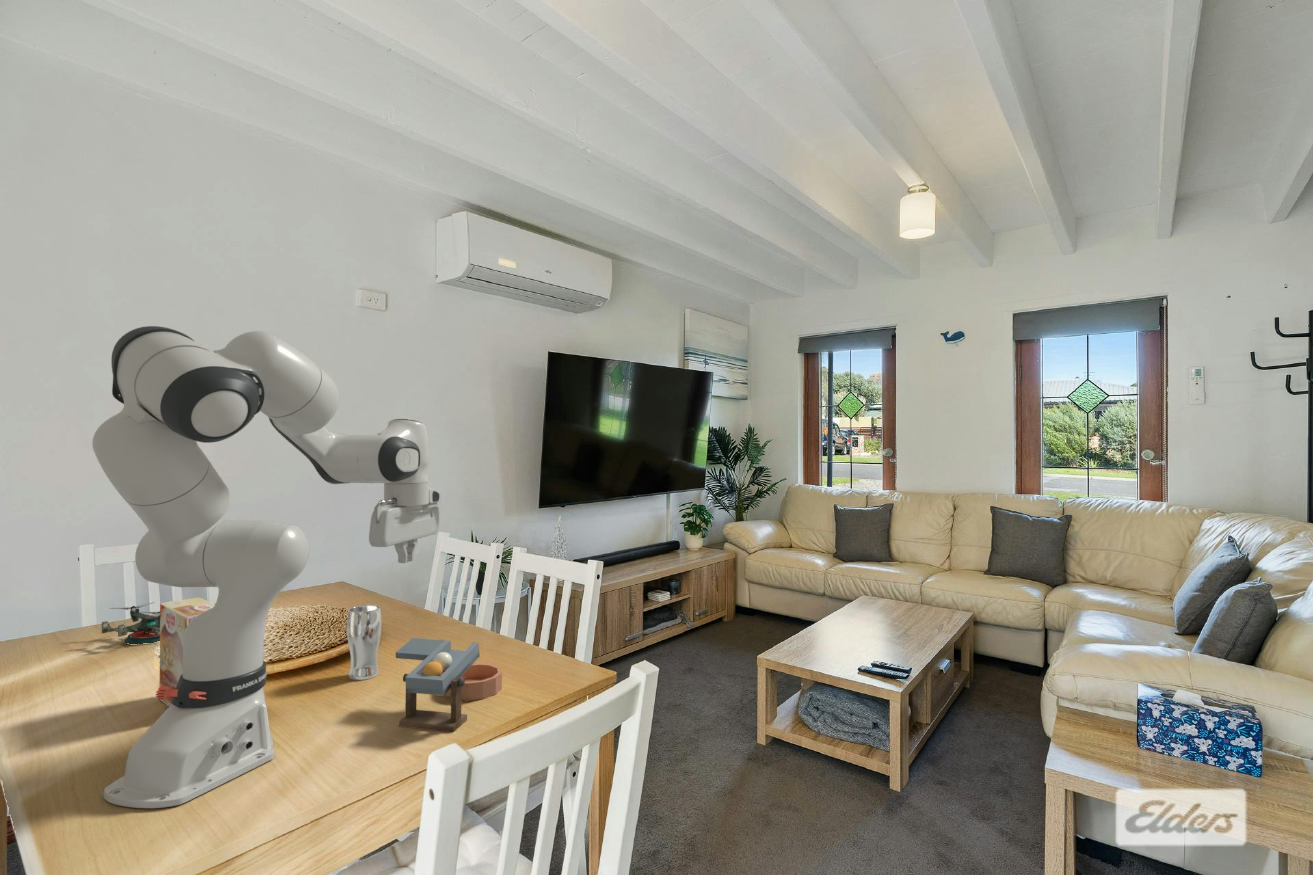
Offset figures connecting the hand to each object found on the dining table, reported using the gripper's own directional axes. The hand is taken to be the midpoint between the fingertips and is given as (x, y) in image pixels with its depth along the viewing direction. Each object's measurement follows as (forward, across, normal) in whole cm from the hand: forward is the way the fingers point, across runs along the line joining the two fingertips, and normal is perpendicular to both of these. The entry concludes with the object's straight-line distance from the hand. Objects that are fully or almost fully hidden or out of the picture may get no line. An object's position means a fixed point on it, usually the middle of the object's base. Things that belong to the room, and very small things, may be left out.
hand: (405, 561), depth 130 cm
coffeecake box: (+27, -14, +38) cm, 49 cm away
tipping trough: (+19, -8, -10) cm, 23 cm away
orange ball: (+17, -13, -14) cm, 26 cm away
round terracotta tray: (+27, +4, -14) cm, 31 cm away
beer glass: (+27, +6, +14) cm, 31 cm away
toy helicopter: (+27, +16, +86) cm, 92 cm away
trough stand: (+27, -12, -14) cm, 33 cm away
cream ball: (+17, -9, -14) cm, 24 cm away
